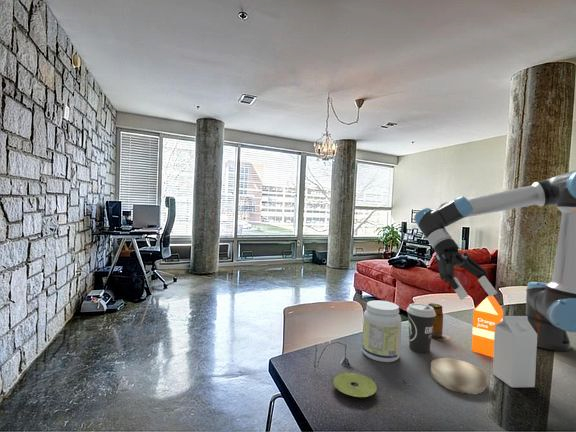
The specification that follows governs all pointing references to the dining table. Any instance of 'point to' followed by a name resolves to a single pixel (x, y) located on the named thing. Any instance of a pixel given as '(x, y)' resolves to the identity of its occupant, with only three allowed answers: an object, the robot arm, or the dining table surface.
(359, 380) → the green disc
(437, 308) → the condiment
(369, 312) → the supplement tub
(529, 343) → the milk carton
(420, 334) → the coffee cup
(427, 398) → the dining table surface
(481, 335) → the orange juice
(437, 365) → the birch stand
